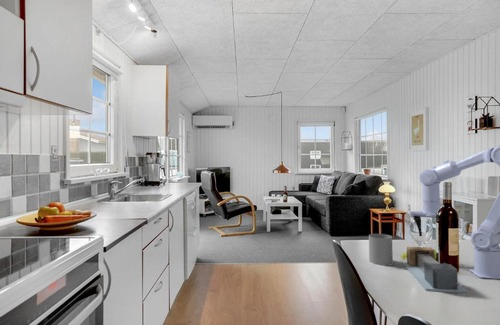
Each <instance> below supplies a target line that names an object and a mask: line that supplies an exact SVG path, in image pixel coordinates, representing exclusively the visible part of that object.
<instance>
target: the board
mask: <svg viewBox="0 0 500 325" xmlns="http://www.w3.org/2000/svg"><path fill="white" fill-rule="evenodd" d="M402 265H403V266H404V267H405V268H406V270H408V272H409V273H410V274H411V276H412V277H413V278H414V279H415V280H416V281H417V283H419V284H420V286H421V287H422V288H423V290H425V291H426V292H427V291H428V292H444V293H445V292H446V293H460V294H461V293H463V294H467V293H468V290H466V289H465V288H464V286H462V285H461V284H460V283H458V290H452V289H434V288H433V287H432V286H431V285H430V284H429V283H428V282H427V281H426V280H425V276H424V272H423V271H422V270H421V269H420V268H419V267H418V266H417V265H415V266H409V265H408V264H407V262H403V264H402Z"/></svg>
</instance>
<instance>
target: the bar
mask: <svg viewBox="0 0 500 325" xmlns="http://www.w3.org/2000/svg"><path fill="white" fill-rule="evenodd" d="M424 262H428V263H433V264H441V263H440V262H438V261H437V260H436V258H435V259H433V258H432V257H431V256H430V255H428V254H427V253H426V252H415V265H417V266H418V267H419V268H420V269H421V270H422V271H423V272H424Z"/></svg>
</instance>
